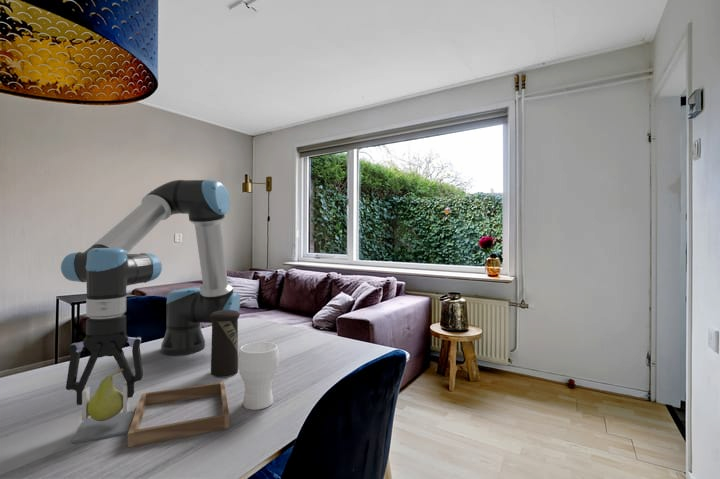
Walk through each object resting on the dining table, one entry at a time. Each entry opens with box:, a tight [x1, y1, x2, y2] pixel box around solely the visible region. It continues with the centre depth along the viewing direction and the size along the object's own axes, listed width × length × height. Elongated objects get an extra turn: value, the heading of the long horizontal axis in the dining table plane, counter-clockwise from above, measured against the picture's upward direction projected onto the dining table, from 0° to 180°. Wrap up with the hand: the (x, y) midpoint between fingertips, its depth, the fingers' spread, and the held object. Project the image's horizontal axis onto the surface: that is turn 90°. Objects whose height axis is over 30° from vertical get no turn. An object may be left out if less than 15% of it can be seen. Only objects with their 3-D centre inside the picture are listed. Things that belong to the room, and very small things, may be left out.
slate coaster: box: [71, 410, 136, 444], centre depth 82 cm, size 10×10×1 cm
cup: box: [238, 341, 280, 411], centre depth 95 cm, size 11×11×15 cm
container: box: [210, 310, 241, 378], centre depth 115 cm, size 9×9×20 cm
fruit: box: [87, 368, 124, 421], centre depth 82 cm, size 7×8×12 cm
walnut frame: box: [127, 381, 230, 448], centre depth 88 cm, size 20×20×3 cm
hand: (106, 414), depth 82 cm, fingers closed on fruit, 7 cm apart
